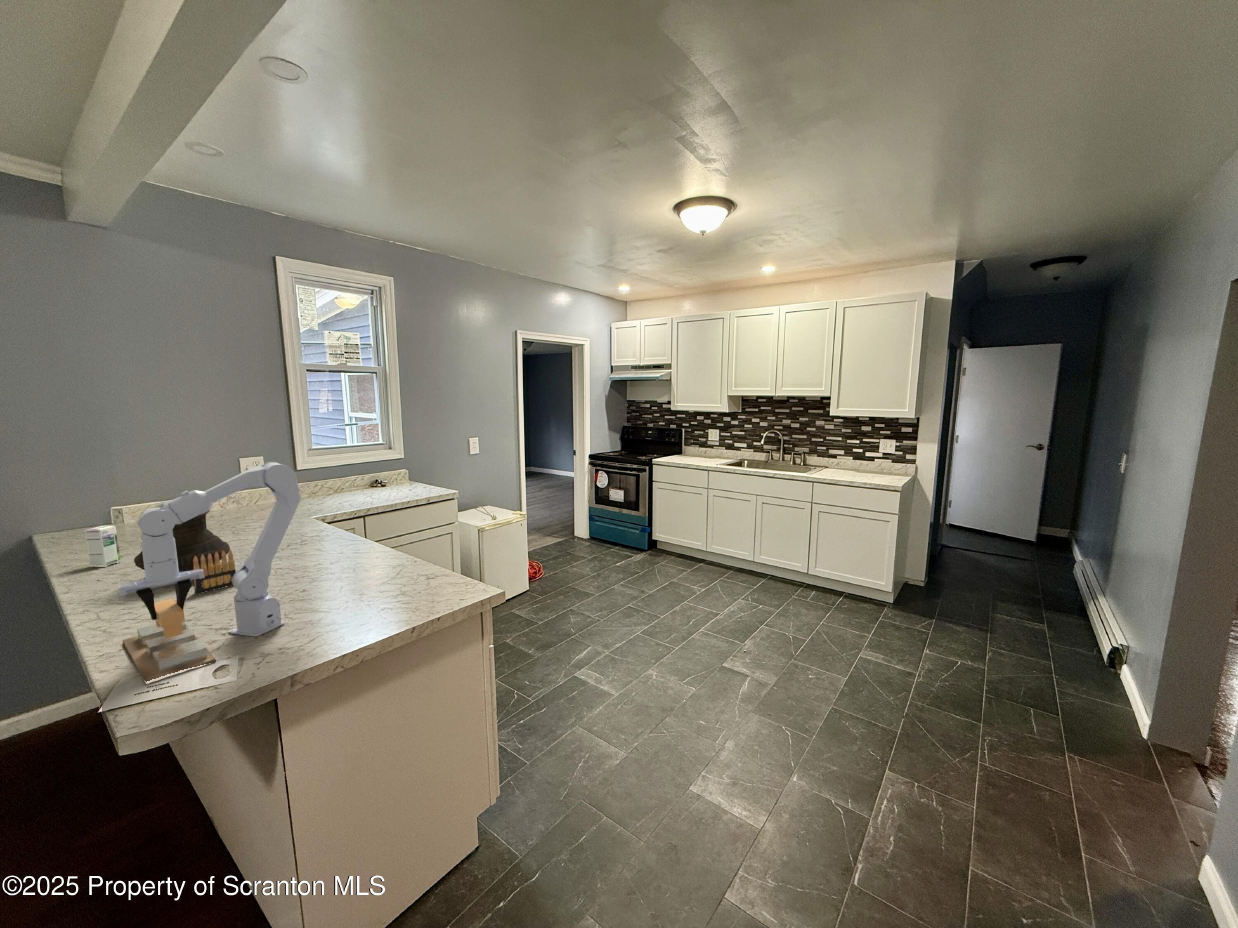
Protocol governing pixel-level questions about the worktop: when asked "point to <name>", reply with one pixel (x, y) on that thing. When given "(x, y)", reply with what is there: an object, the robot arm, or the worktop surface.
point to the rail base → (147, 663)
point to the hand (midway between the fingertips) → (167, 615)
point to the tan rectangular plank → (169, 617)
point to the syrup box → (102, 545)
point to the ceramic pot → (193, 544)
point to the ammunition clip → (214, 572)
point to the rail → (171, 647)
